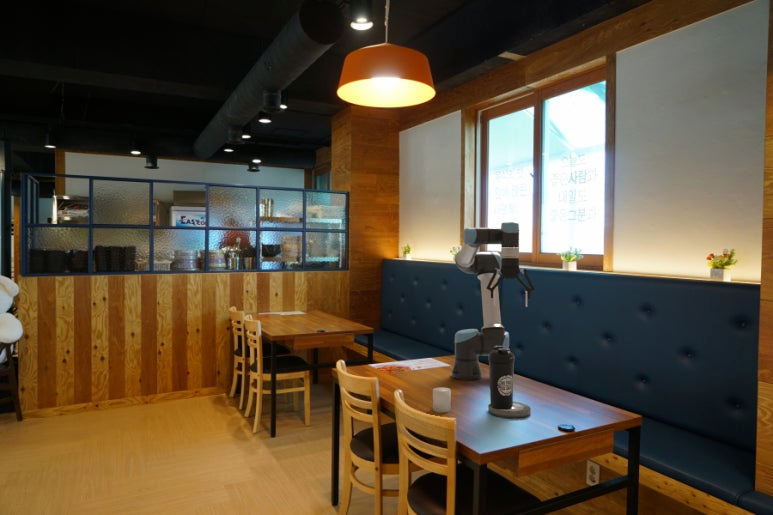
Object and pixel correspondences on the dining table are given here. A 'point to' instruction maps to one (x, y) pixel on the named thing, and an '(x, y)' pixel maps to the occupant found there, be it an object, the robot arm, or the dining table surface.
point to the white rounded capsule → (441, 399)
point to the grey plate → (511, 411)
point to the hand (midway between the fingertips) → (510, 306)
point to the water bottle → (501, 377)
